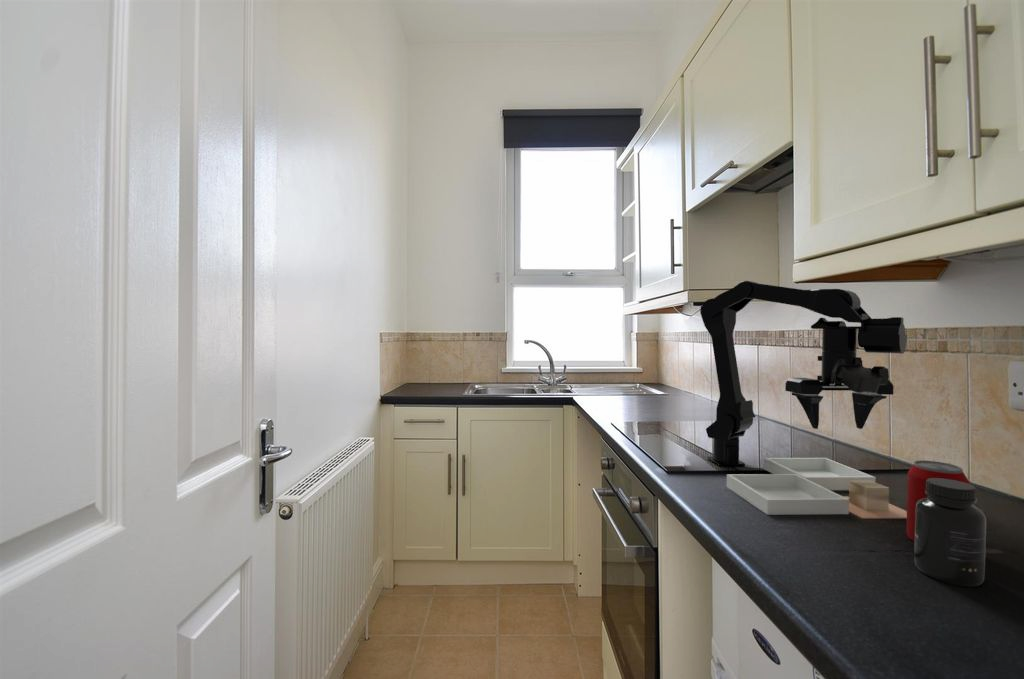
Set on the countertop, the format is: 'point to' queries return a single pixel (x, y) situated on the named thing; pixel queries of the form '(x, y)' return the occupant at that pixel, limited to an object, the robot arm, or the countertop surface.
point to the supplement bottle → (950, 533)
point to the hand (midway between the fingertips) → (837, 428)
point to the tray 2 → (817, 471)
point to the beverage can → (918, 485)
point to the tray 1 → (786, 494)
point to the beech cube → (869, 495)
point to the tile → (878, 512)
